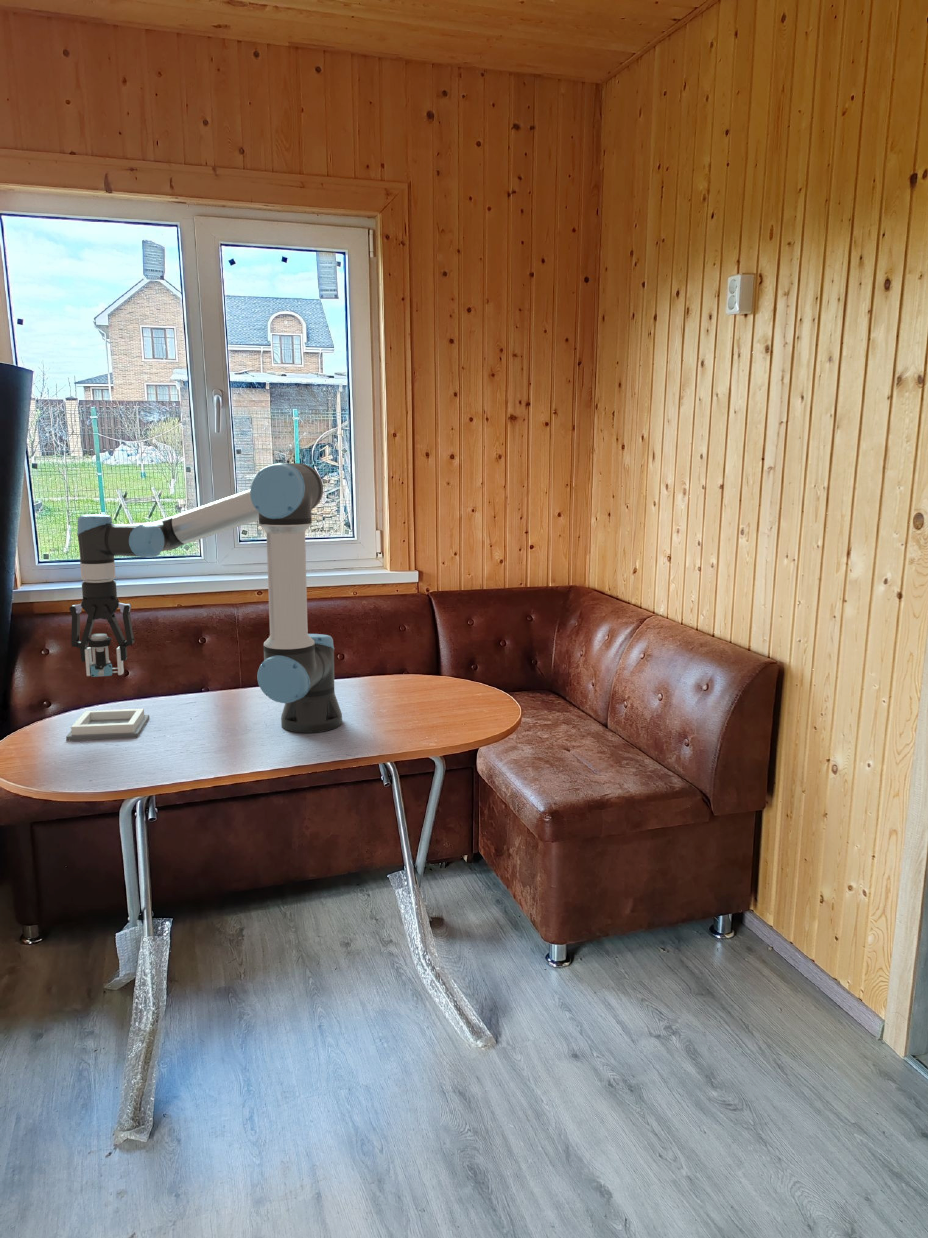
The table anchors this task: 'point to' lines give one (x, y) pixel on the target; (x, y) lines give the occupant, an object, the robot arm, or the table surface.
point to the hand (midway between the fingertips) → (105, 673)
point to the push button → (100, 655)
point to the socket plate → (108, 724)
